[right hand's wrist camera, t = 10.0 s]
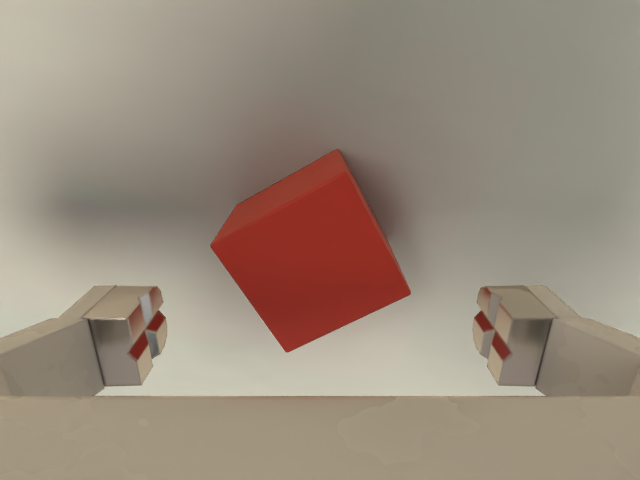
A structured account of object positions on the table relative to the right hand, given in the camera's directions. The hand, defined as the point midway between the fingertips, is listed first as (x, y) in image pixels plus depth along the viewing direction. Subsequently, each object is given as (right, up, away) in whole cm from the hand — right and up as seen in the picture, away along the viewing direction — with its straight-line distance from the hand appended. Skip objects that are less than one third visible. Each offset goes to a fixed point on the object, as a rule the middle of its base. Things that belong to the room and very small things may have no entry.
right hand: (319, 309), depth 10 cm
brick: (0, +2, +6) cm, 6 cm away
